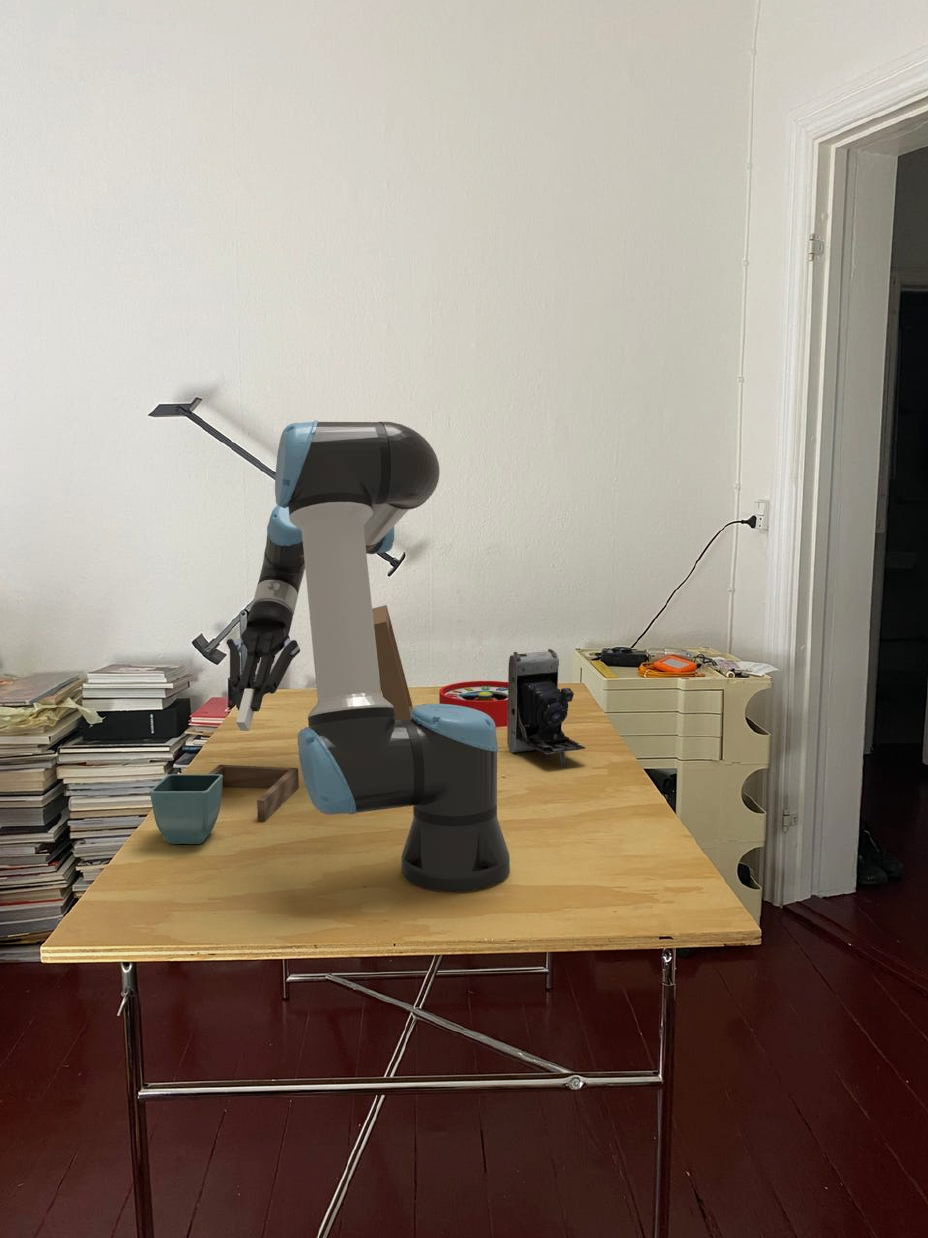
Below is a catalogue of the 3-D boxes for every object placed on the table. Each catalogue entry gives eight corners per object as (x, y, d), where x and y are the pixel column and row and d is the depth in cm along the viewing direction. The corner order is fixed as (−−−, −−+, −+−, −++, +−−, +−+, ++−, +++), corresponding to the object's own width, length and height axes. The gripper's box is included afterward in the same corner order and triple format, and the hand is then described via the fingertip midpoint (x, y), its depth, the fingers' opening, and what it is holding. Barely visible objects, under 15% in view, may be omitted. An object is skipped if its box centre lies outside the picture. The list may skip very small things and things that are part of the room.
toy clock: (531, 701, 223) (435, 701, 224) (531, 729, 224) (436, 728, 225) (529, 680, 242) (442, 680, 243) (529, 705, 243) (442, 705, 244)
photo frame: (414, 717, 233) (412, 604, 229) (417, 745, 211) (415, 621, 207) (346, 719, 232) (343, 605, 228) (342, 747, 210) (338, 622, 206)
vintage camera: (542, 774, 193) (546, 668, 190) (504, 750, 207) (507, 650, 203) (588, 769, 197) (593, 664, 193) (548, 744, 211) (552, 646, 207)
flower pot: (170, 828, 166) (167, 773, 165) (226, 829, 166) (223, 773, 164) (151, 849, 158) (148, 791, 156) (210, 850, 157) (207, 792, 156)
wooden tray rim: (264, 821, 169) (264, 800, 168) (179, 817, 171) (178, 796, 171) (298, 787, 186) (298, 768, 185) (220, 783, 188) (219, 764, 187)
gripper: (231, 598, 186) (197, 713, 172) (302, 598, 184) (274, 715, 170) (243, 623, 192) (211, 737, 178) (312, 624, 190) (286, 739, 176)
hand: (242, 726), depth 174 cm, fingers closed
